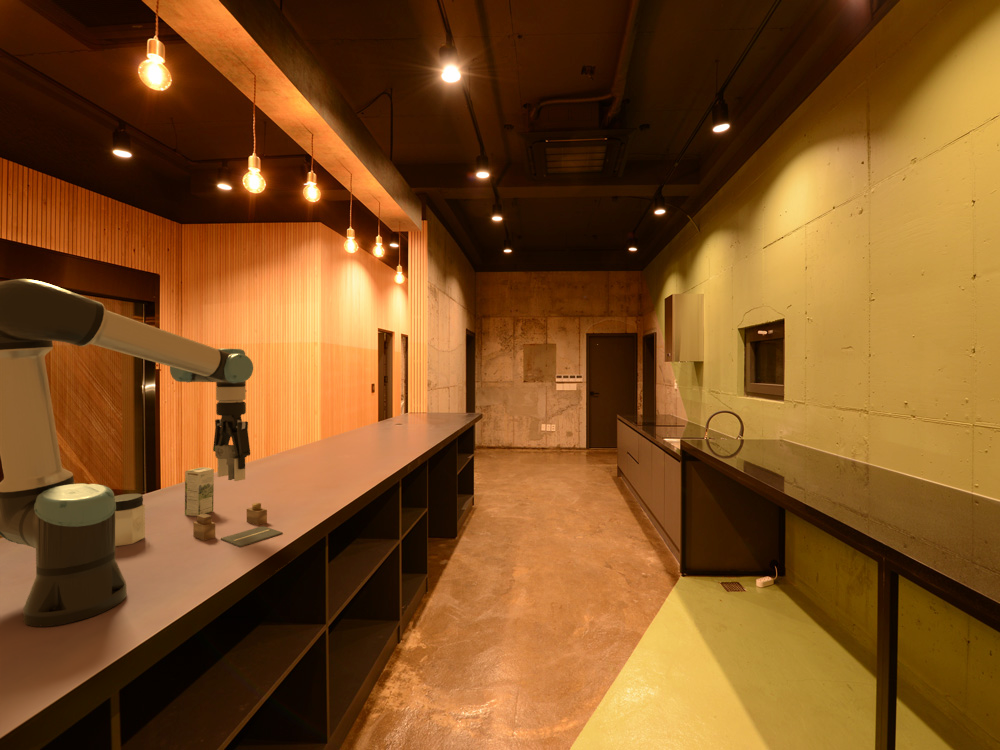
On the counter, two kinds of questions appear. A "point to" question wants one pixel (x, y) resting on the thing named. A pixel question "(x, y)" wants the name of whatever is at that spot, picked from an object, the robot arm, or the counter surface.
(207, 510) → the syrup box
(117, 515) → the jar
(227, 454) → the mechanical component
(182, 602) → the counter surface
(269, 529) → the mat
